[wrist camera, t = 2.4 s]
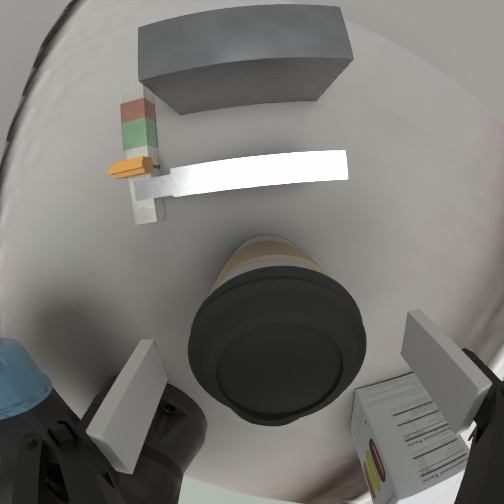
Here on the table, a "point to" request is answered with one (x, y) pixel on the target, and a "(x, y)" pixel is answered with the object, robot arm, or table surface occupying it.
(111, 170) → the orange stepped block
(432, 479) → the supplement box
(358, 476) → the table surface
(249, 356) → the coffee cup
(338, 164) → the light grey slab
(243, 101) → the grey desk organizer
